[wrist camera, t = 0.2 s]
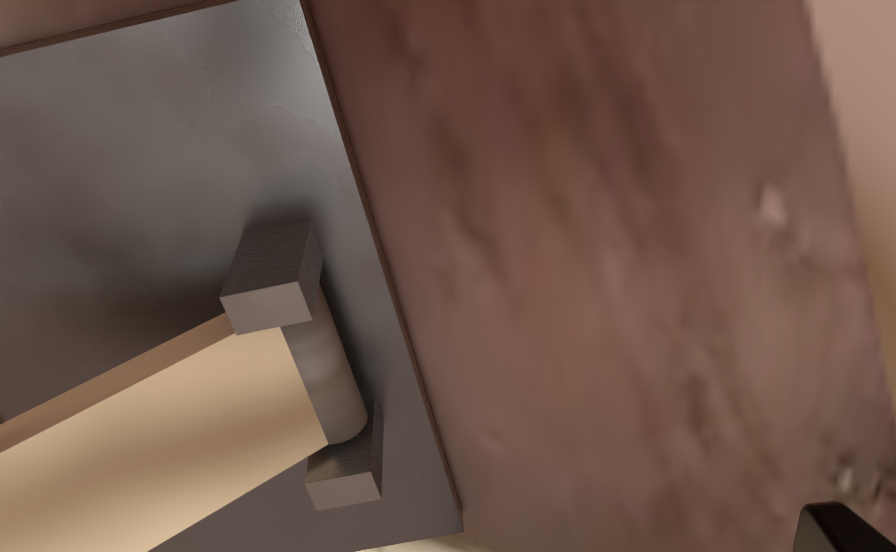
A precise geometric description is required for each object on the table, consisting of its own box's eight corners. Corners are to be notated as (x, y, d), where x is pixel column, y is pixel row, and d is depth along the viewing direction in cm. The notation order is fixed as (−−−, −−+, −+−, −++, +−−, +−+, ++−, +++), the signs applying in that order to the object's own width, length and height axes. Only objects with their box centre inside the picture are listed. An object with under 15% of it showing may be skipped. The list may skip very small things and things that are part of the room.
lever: (351, 394, 25) (377, 423, 24) (-195, 708, 20) (-203, 769, 18) (304, 267, 23) (330, 291, 21) (-345, 588, 17) (-367, 649, 16)
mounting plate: (462, 510, 30) (469, 608, 27) (22, 590, 31) (-26, 693, 28) (300, -23, 19) (276, 24, 16) (-357, 134, 21) (-514, 208, 17)
